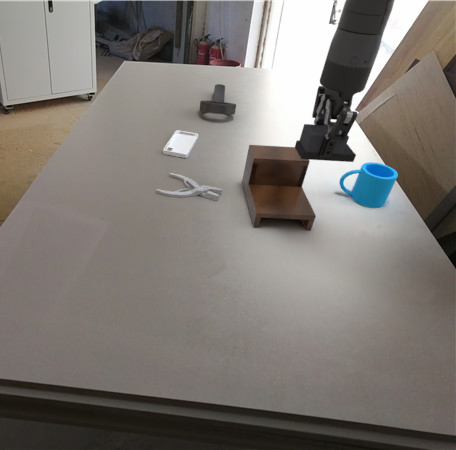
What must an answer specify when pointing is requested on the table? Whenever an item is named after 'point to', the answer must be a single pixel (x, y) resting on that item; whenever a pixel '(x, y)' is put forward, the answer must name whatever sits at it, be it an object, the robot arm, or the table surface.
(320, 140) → the dark block
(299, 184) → the wooden chair model
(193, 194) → the pliers
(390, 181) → the mug
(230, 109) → the dark gray mallet
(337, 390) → the table surface
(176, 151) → the phone case
